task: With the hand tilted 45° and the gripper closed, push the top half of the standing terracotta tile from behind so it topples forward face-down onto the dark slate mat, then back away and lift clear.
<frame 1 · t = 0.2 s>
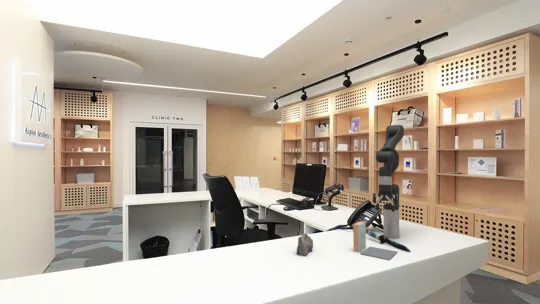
hand: (385, 211, 163), 18 cm above the table, tool pointing down, fingers open, 8 cm apart
mineral rock: (306, 252, 141), on the table
knife: (386, 245, 154), on the table
tile: (359, 249, 146), on the table
slate mat: (379, 253, 140), on the table
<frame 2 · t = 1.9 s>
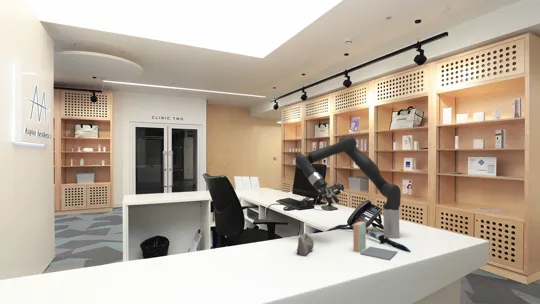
hand: (335, 202, 155), 24 cm above the table, tool tilted 45°, fingers open, 8 cm apart
nothing on the table moved.
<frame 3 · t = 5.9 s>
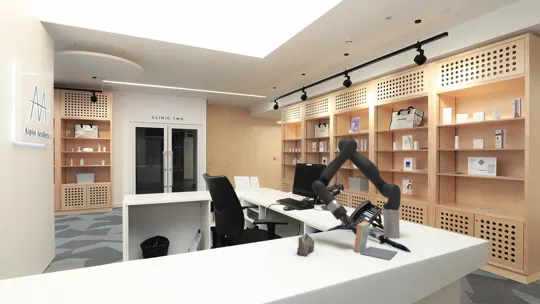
hand: (358, 234, 147), 8 cm above the table, tool tilted 45°, fingers closed
tile: (359, 249, 146), on the table, tilted 9°
everything else where it was.
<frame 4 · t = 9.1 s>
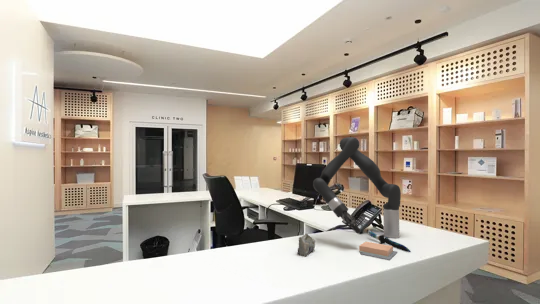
hand: (359, 232, 146), 9 cm above the table, tool tilted 45°, fingers closed
tile: (362, 246, 145), point 2 cm above the table, tilted 90°, touching slate mat
everything else where it was.
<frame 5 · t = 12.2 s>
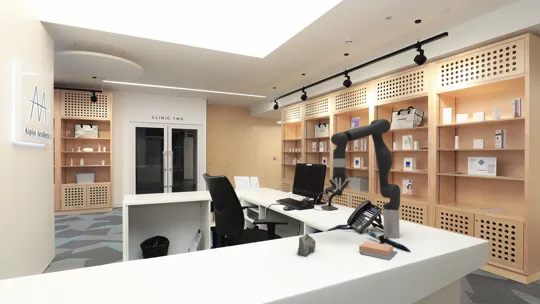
hand: (339, 195, 160), 27 cm above the table, tool pointing down, fingers closed
at the end: tile tilted 90°; tile touching slate mat; tile inside the target area (2.0 cm from its centre), point 2.0 cm above the table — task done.
